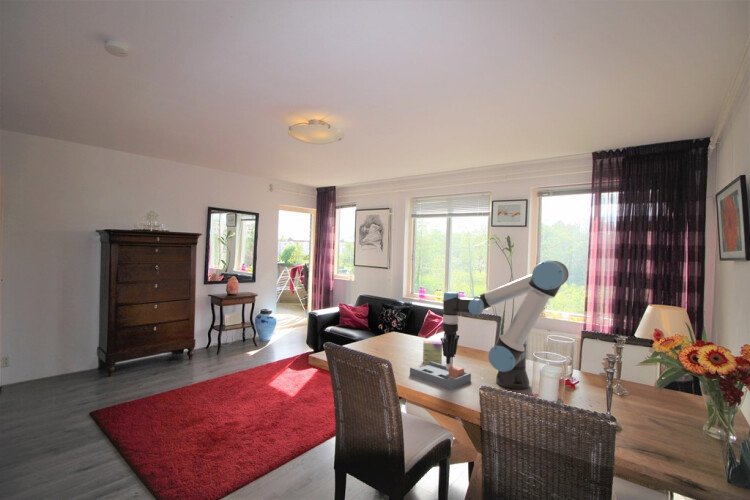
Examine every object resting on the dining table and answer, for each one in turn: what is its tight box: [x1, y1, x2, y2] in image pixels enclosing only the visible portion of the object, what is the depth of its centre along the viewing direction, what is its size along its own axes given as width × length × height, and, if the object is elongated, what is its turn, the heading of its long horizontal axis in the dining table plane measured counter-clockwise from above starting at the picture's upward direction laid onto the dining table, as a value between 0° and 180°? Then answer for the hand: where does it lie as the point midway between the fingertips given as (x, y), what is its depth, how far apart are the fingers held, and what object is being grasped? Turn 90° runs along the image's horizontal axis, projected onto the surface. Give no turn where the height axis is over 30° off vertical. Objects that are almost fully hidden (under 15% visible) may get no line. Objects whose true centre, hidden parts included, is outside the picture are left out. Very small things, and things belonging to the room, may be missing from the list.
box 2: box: [409, 361, 472, 391], centre depth 179 cm, size 25×17×4 cm
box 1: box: [422, 340, 443, 365], centre depth 204 cm, size 10×6×12 cm, turn 84°
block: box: [449, 365, 465, 378], centre depth 175 cm, size 6×5×4 cm
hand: (449, 369), depth 179 cm, fingers closed
